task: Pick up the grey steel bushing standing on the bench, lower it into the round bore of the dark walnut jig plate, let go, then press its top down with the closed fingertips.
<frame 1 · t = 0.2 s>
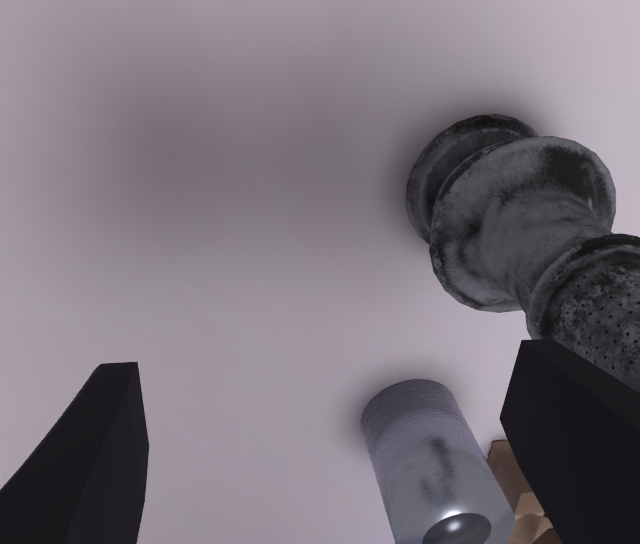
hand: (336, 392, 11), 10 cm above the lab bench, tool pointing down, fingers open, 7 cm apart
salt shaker: (475, 186, 20), on the lab bench
jig: (546, 513, 31), on the lab bench
bushing: (408, 416, 25), on the lab bench
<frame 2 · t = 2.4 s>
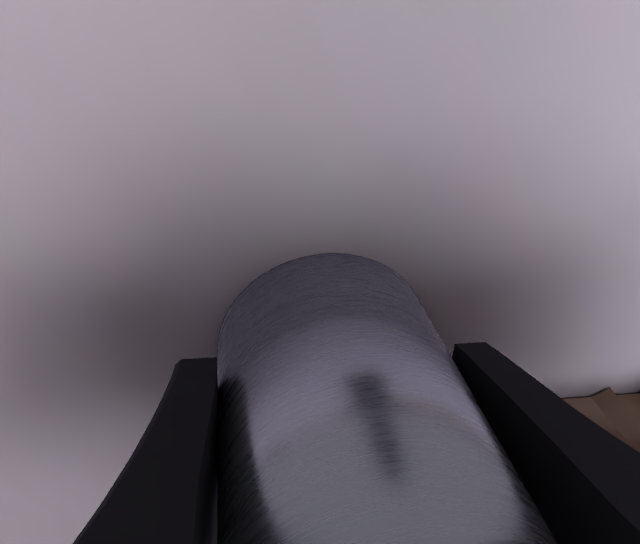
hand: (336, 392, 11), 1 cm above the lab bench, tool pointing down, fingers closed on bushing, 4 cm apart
jig: (599, 540, 17), on the lab bench
bushing: (323, 346, 12), on the lab bench, touching gripper
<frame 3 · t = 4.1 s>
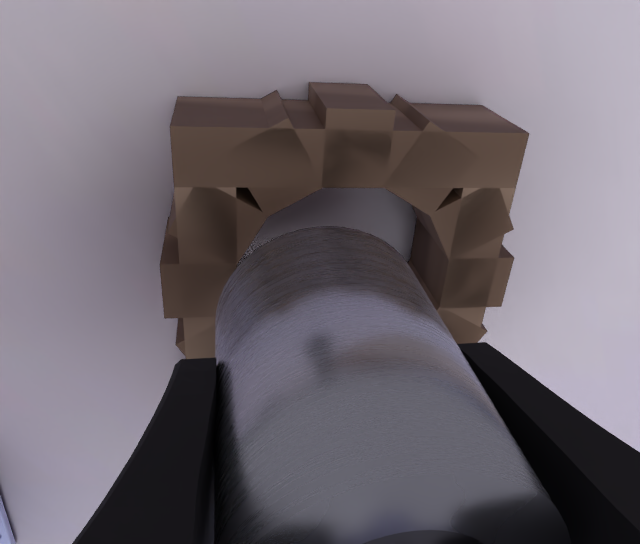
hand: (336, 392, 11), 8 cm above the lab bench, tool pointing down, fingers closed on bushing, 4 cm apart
jig: (323, 279, 19), on the lab bench
bushing: (320, 320, 12), point 7 cm above the lab bench, touching gripper
when the fingers open (4 cm above the lab bench, at t = 5.8 s): bushing drops 2 cm, resting in jig.
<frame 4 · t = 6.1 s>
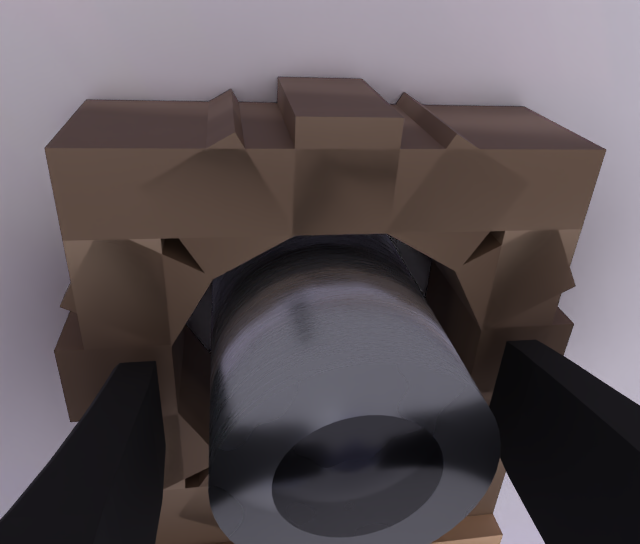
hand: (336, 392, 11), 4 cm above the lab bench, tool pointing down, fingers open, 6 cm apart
jig: (307, 341, 14), on the lab bench
bushing: (305, 277, 13), resting in jig
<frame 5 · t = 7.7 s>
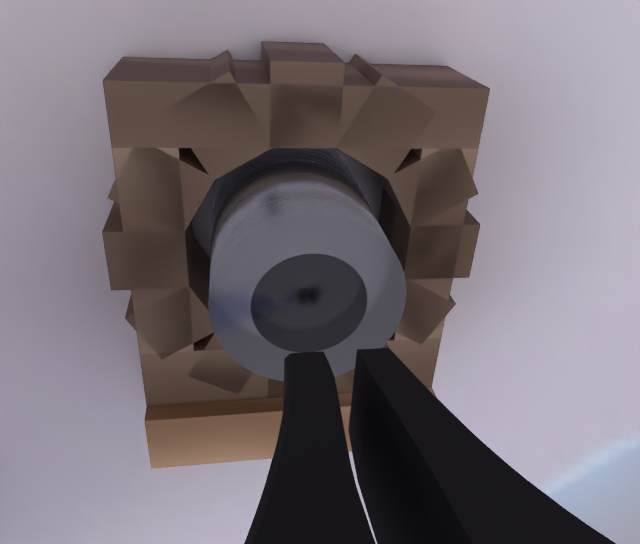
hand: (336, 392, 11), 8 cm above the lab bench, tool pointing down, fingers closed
jig: (287, 253, 18), on the lab bench
bushing: (285, 200, 18), resting in jig
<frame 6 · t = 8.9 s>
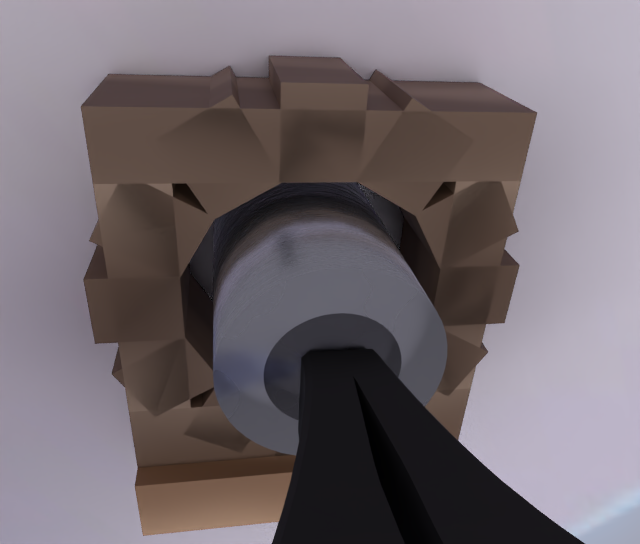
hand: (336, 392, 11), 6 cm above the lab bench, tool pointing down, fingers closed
jig: (296, 290, 16), on the lab bench
bushing: (294, 233, 16), resting in jig
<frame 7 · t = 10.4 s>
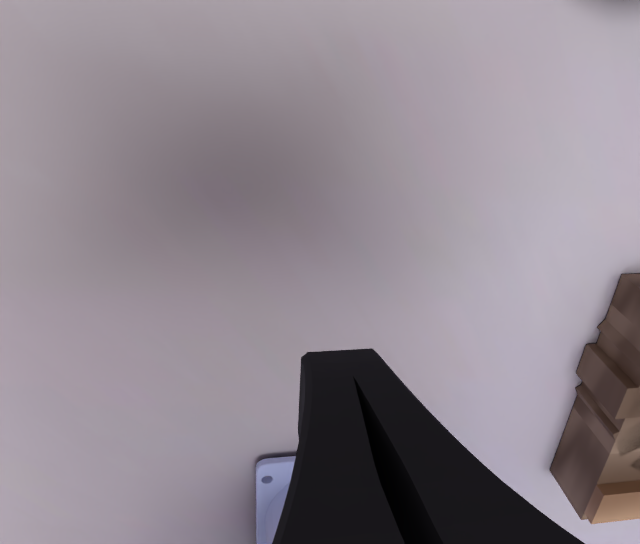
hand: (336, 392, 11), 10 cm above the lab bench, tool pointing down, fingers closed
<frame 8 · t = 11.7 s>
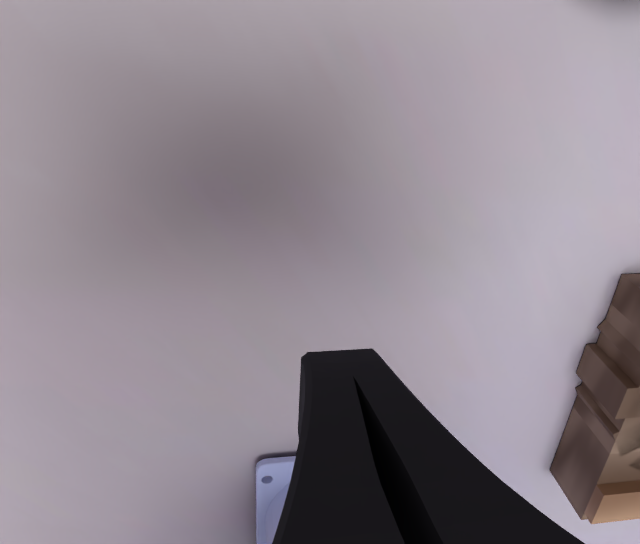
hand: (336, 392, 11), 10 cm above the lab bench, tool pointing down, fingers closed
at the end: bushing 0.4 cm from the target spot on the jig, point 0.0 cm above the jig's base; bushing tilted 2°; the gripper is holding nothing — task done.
